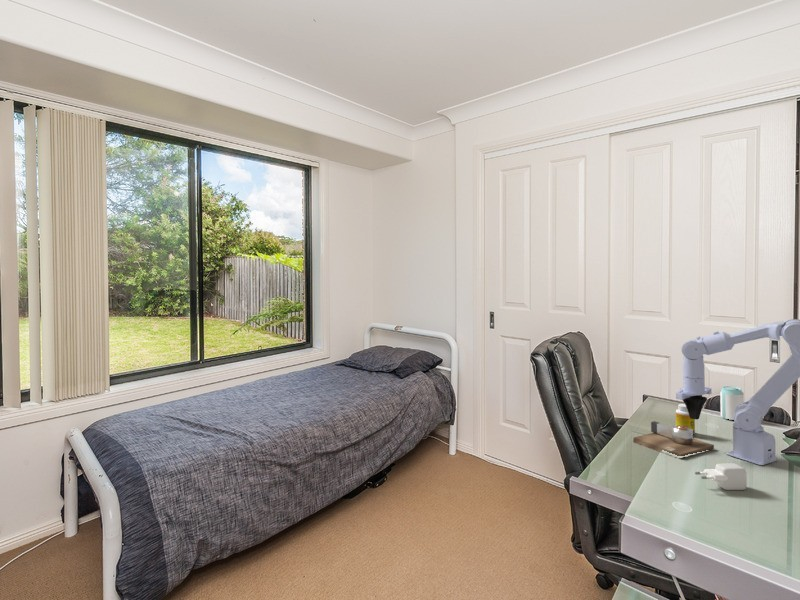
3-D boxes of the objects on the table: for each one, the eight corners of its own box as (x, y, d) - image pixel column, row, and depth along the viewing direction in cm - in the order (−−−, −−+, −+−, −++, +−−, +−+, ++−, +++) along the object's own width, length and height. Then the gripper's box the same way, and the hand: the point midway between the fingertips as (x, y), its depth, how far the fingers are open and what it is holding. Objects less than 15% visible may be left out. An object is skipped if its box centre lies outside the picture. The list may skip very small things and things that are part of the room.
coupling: (696, 442, 136) (696, 427, 136) (684, 445, 134) (684, 430, 134) (658, 430, 148) (658, 416, 148) (647, 432, 146) (646, 418, 146)
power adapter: (704, 492, 108) (704, 470, 108) (692, 483, 113) (692, 462, 113) (749, 491, 108) (749, 469, 107) (735, 482, 112) (735, 461, 112)
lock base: (713, 449, 134) (713, 444, 134) (680, 459, 128) (680, 454, 128) (665, 433, 149) (665, 429, 149) (633, 441, 143) (633, 437, 143)
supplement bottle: (693, 437, 145) (692, 408, 144) (674, 434, 149) (673, 405, 148) (696, 433, 148) (696, 404, 148) (678, 429, 152) (677, 402, 152)
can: (732, 415, 165) (732, 385, 165) (748, 421, 158) (748, 389, 158) (716, 416, 165) (715, 386, 165) (731, 422, 158) (731, 390, 158)
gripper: (695, 372, 142) (696, 411, 143) (666, 377, 137) (667, 418, 137) (718, 376, 136) (718, 417, 136) (688, 381, 130) (689, 424, 131)
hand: (694, 418), depth 136 cm, fingers closed
